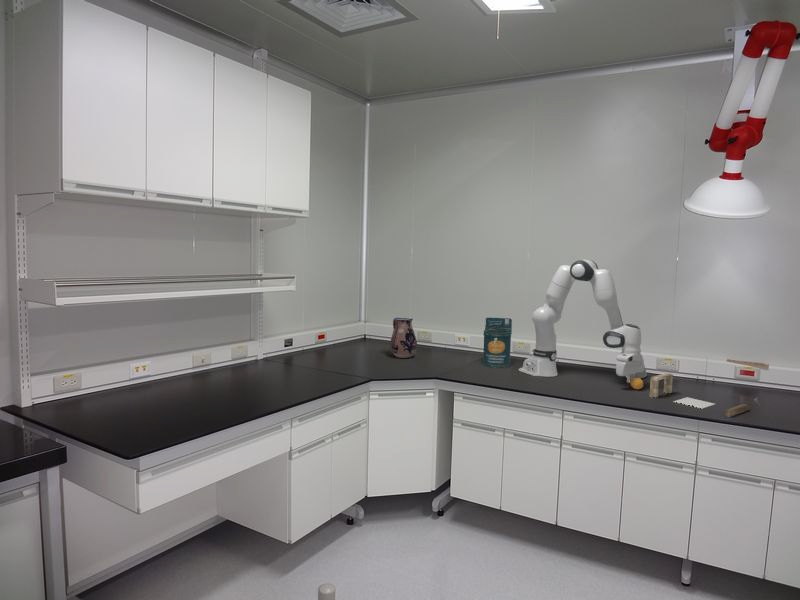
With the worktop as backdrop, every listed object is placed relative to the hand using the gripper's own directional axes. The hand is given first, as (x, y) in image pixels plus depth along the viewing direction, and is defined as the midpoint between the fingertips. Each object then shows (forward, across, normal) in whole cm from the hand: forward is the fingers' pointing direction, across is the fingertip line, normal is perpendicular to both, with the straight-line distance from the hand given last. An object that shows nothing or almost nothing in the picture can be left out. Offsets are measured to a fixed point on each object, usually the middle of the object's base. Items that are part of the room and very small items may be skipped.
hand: (629, 382), depth 273 cm
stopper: (+3, +1, +51) cm, 51 cm away
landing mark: (+3, +1, +33) cm, 33 cm away
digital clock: (+3, -21, -9) cm, 23 cm away
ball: (0, 0, +4) cm, 4 cm away
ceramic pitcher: (+1, +55, -127) cm, 138 cm away
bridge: (+3, +1, +17) cm, 17 cm away
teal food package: (+2, +20, -75) cm, 78 cm away
